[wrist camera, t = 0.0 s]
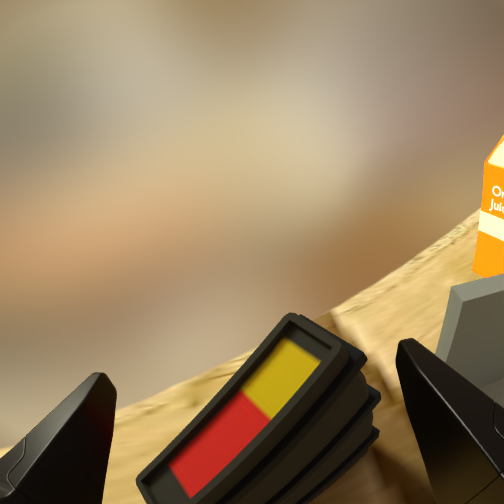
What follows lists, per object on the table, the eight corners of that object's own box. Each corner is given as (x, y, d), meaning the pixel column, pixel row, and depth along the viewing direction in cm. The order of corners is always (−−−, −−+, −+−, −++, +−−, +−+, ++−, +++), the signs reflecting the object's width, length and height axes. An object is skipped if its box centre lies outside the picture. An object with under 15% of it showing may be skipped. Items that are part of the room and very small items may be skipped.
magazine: (402, 415, 20) (357, 340, 11) (287, 536, 17) (139, 555, 8) (366, 392, 23) (289, 300, 14) (259, 507, 20) (108, 495, 11)
